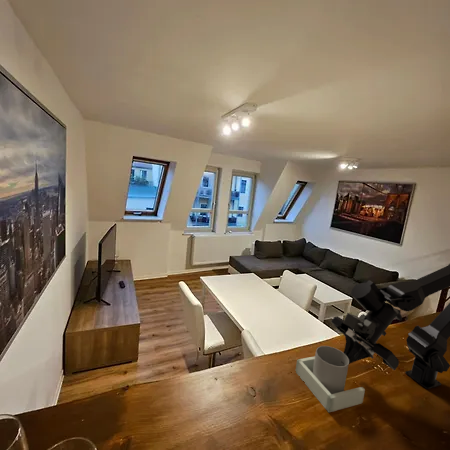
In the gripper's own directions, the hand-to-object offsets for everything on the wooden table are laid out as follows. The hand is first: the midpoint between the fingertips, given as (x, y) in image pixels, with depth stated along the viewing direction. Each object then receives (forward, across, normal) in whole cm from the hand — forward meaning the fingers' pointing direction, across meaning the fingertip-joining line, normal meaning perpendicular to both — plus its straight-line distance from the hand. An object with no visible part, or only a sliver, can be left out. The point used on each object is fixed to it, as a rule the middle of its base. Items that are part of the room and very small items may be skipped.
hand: (342, 363), depth 69 cm
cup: (+8, 0, +2) cm, 8 cm away
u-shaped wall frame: (+7, -1, +2) cm, 8 cm away
